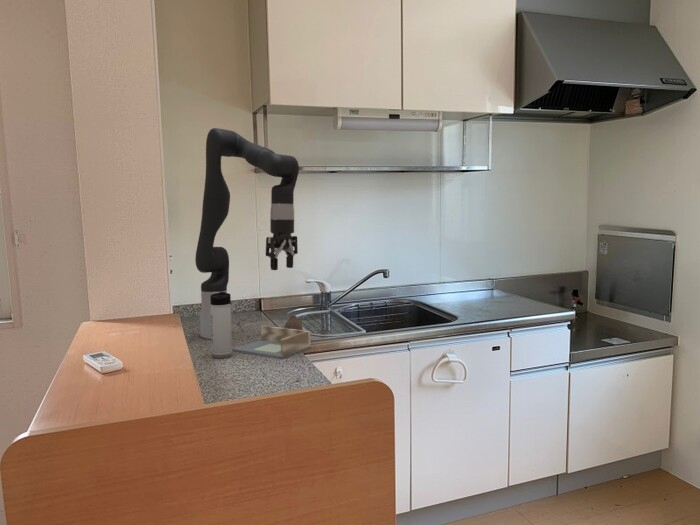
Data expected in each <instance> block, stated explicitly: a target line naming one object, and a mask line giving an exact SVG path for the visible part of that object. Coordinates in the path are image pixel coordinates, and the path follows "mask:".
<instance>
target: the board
mask: <svg viewBox="0 0 700 525" xmlns="http://www.w3.org/2000/svg"><path fill="white" fill-rule="evenodd" d="M309 349H311V345H310V346H309V347H306V348H303V349H301V350H298V351H295V352H292V353H290V354H287V355H284V356H283V355H281V343H279V342H271V341H264V340H261V339H260V340H257V341H254V342H251V343H247V344H244V345H240V346H238V347H234V348H232V353H239V354H240V353H241V354H248V355H254V356H260V357H266V358H272V359H273V358H274V359H278V360H279V359H281V360H283V359H285V358H289V357H291V356H293V354H294V355H296V354H298V353H297V352H299V353H301V352H304V351H306V350H309Z"/></svg>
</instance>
